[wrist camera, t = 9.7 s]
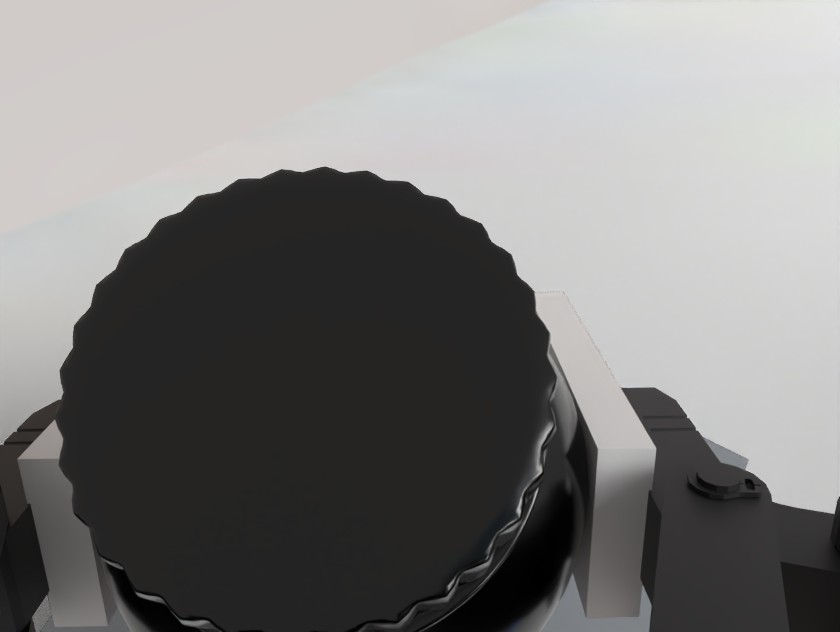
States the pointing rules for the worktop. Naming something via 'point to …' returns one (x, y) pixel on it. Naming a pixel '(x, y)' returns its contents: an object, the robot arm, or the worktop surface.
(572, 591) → the slate tile
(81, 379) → the supplement bottle
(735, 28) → the worktop surface
